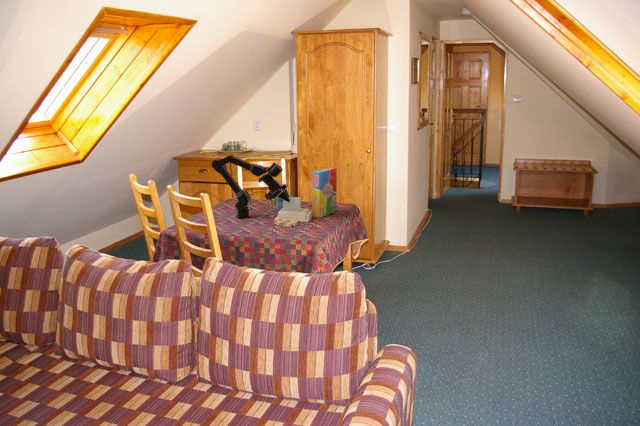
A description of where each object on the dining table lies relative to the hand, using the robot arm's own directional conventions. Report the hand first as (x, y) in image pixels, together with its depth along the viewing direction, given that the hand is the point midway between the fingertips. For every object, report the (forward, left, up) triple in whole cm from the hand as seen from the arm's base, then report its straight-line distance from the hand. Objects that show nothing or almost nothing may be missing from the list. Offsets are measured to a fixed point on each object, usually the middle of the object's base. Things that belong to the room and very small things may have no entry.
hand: (289, 201), depth 335 cm
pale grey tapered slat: (+1, -1, -3) cm, 3 cm away
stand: (-8, -11, -10) cm, 17 cm away
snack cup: (+5, +19, -11) cm, 22 cm away
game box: (+23, -1, -11) cm, 25 cm away
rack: (+2, -1, -10) cm, 11 cm away
